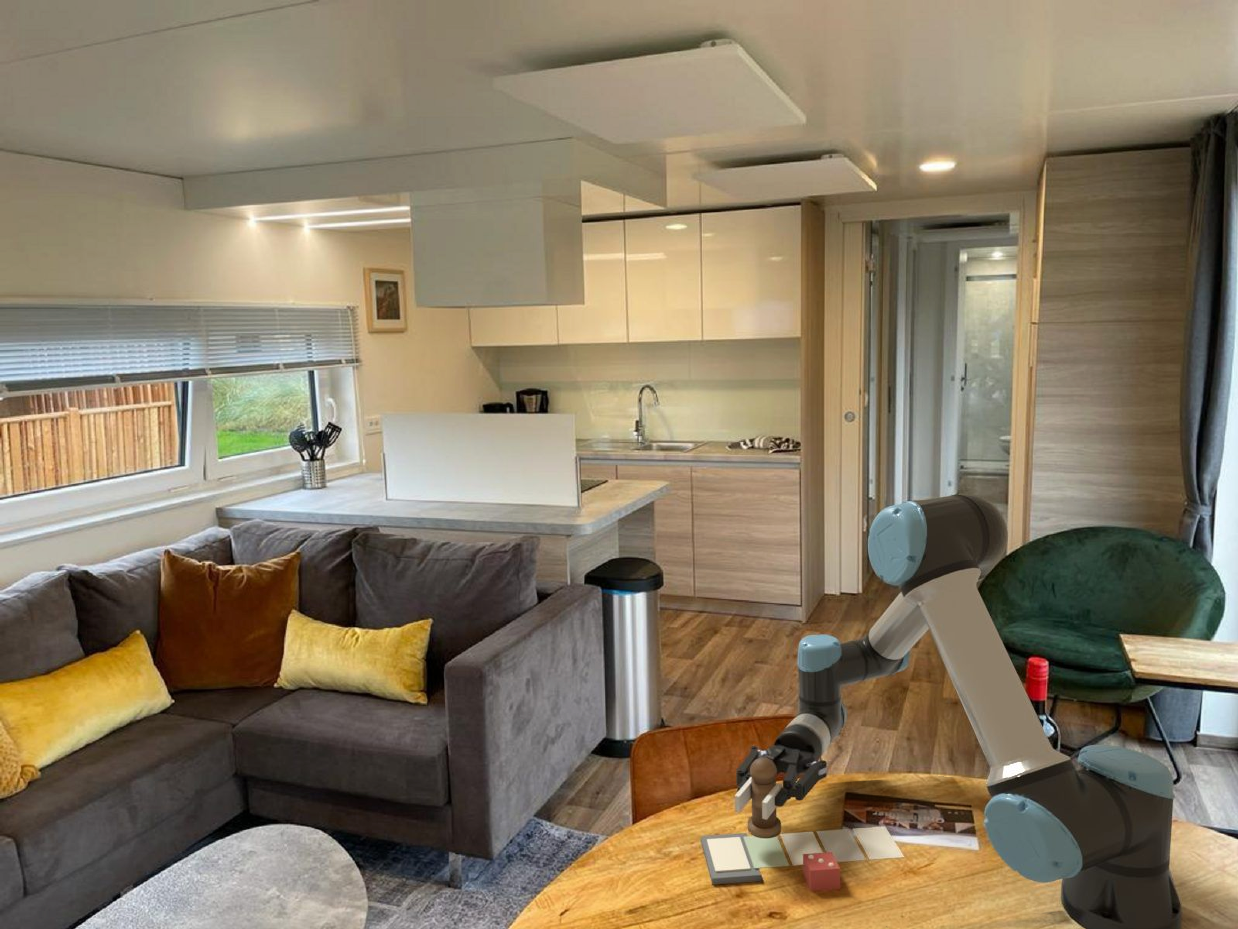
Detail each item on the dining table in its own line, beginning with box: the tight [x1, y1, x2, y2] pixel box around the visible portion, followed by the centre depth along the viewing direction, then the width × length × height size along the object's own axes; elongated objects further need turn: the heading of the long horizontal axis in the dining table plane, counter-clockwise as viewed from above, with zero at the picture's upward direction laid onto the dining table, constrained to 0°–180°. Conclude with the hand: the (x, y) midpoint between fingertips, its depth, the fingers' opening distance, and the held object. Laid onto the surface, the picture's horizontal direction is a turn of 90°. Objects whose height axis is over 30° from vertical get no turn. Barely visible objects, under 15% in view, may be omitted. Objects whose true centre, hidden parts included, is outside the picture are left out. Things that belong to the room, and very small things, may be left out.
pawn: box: [747, 758, 782, 839], centre depth 151 cm, size 5×5×12 cm
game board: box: [700, 825, 905, 886], centre depth 152 cm, size 12×31×1 cm, turn 93°
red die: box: [802, 851, 841, 892], centre depth 143 cm, size 4×4×5 cm
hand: (750, 807), depth 146 cm, fingers closed on pawn, 4 cm apart
